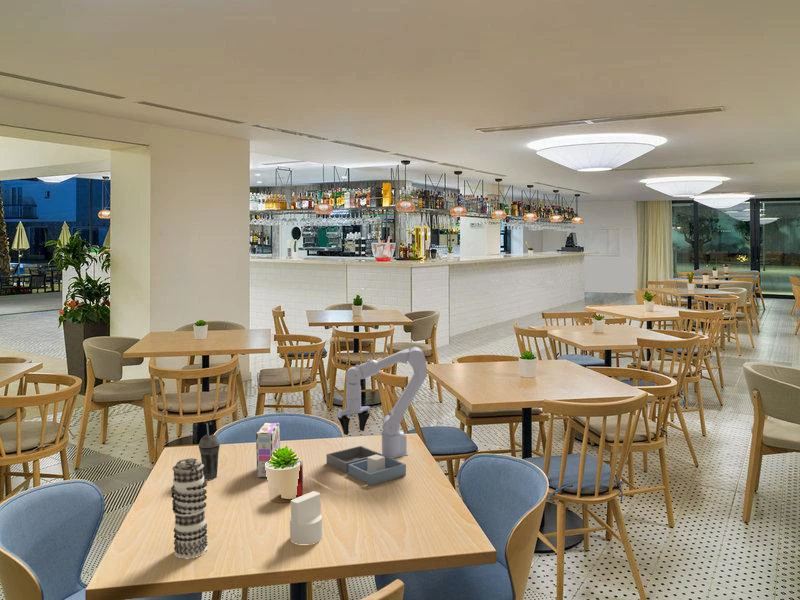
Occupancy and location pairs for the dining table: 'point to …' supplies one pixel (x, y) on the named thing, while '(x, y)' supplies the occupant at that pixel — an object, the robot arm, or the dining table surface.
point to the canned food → (300, 481)
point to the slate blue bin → (390, 472)
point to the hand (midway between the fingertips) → (354, 432)
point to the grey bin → (349, 457)
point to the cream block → (375, 463)
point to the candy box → (266, 445)
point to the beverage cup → (209, 454)
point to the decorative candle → (189, 508)
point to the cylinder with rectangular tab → (306, 519)
